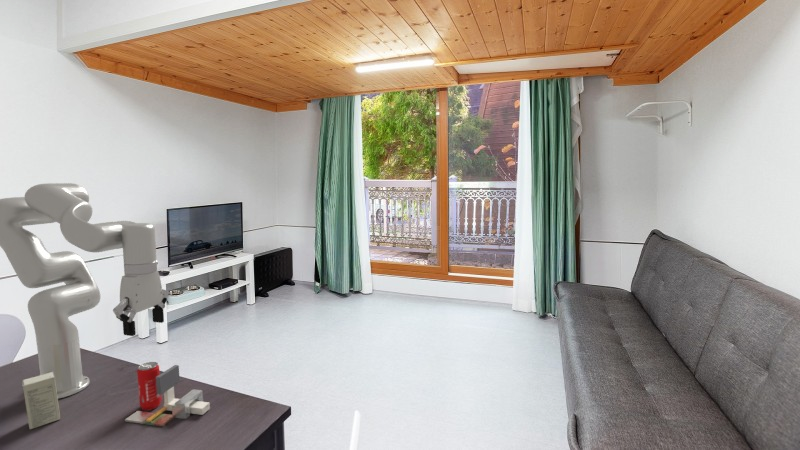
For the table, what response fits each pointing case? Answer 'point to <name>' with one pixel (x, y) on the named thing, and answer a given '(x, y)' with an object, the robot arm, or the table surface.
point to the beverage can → (148, 385)
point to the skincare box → (41, 400)
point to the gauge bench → (178, 410)
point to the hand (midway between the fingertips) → (144, 328)
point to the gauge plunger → (166, 386)
